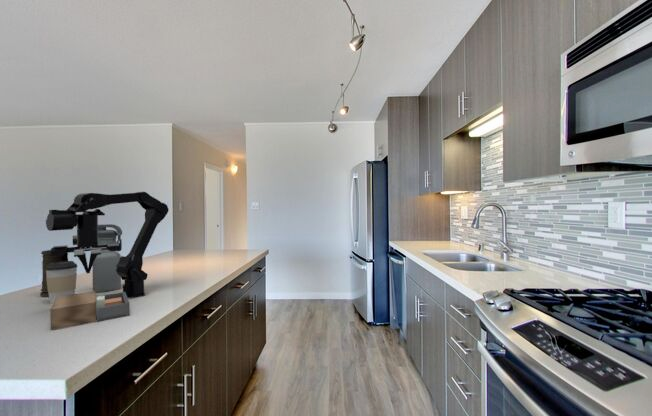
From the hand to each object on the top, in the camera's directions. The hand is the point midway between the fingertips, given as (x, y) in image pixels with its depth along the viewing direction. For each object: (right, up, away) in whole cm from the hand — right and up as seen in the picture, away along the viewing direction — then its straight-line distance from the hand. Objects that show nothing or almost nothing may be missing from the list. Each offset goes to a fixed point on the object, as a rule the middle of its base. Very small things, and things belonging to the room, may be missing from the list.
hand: (88, 273), depth 102 cm
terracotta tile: (+10, -9, -2) cm, 13 cm away
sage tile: (+10, -9, -9) cm, 16 cm away
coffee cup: (-16, -13, +8) cm, 22 cm away
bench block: (+5, -12, -10) cm, 17 cm away
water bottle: (-11, -13, +23) cm, 28 cm away
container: (-28, -13, +17) cm, 35 cm away
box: (+12, -12, -5) cm, 17 cm away
